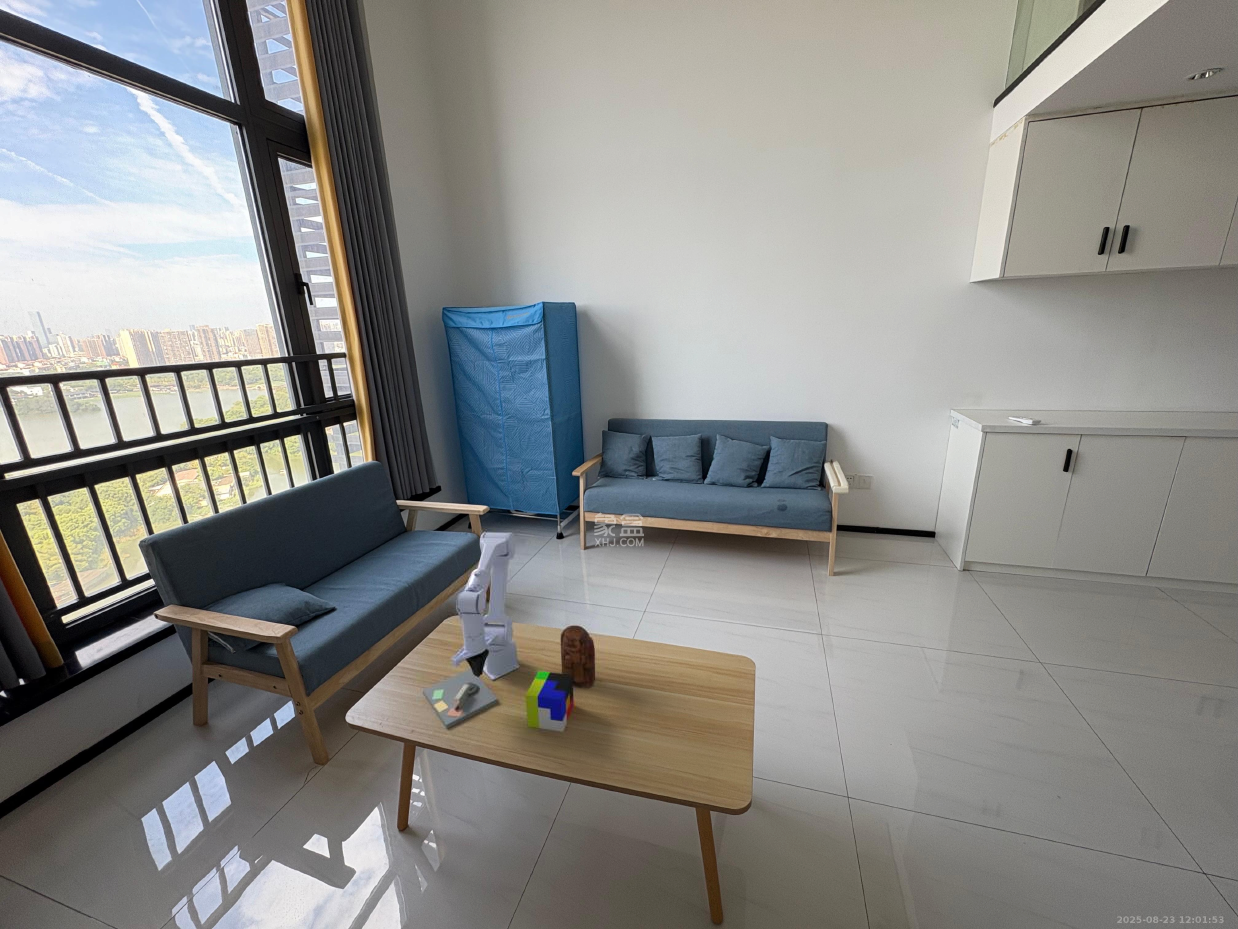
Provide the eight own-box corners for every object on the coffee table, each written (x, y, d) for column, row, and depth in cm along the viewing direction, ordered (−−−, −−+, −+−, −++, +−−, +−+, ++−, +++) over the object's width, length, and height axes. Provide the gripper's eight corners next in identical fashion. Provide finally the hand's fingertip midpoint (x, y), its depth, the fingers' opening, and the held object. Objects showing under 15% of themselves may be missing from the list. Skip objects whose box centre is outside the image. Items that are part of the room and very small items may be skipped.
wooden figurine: (555, 683, 149) (553, 631, 145) (564, 670, 155) (561, 619, 150) (592, 691, 145) (590, 637, 141) (599, 677, 151) (598, 625, 147)
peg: (466, 685, 147) (465, 675, 146) (479, 686, 146) (478, 677, 145) (449, 710, 137) (448, 700, 136) (462, 711, 136) (461, 702, 135)
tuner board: (471, 671, 155) (470, 668, 154) (497, 702, 141) (497, 698, 141) (423, 693, 145) (422, 689, 145) (446, 728, 132) (446, 724, 132)
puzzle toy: (563, 732, 130) (561, 700, 128) (527, 726, 132) (525, 695, 130) (573, 705, 140) (572, 675, 138) (540, 700, 142) (538, 670, 140)
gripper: (484, 615, 143) (488, 656, 146) (442, 640, 131) (447, 683, 135) (501, 623, 139) (504, 664, 142) (459, 649, 127) (463, 693, 131)
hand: (477, 674), depth 138 cm, fingers closed
